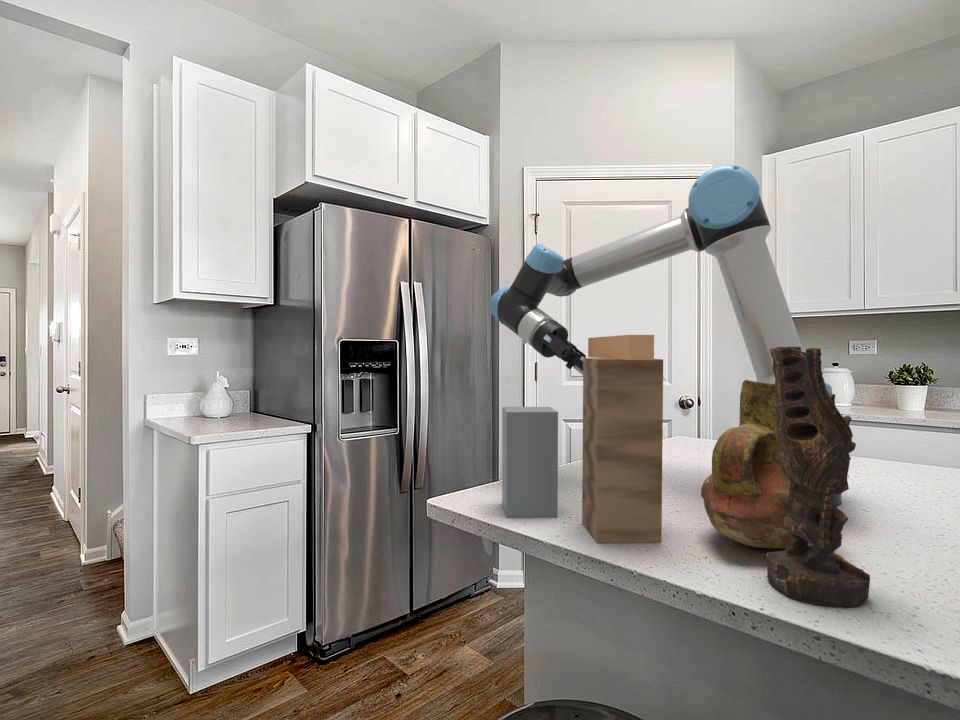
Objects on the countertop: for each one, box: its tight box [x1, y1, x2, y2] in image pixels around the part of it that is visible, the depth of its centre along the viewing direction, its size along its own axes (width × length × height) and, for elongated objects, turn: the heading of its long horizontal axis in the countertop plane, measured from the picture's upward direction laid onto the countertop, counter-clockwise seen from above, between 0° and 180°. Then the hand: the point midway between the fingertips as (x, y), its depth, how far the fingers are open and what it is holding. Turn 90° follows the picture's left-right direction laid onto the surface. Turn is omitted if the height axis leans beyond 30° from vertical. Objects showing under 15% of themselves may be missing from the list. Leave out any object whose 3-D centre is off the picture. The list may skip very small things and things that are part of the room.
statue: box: [765, 347, 871, 608], centre depth 70 cm, size 10×10×30 cm
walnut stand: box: [581, 357, 664, 544], centre depth 91 cm, size 10×10×28 cm
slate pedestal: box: [501, 406, 559, 519], centre depth 104 cm, size 9×9×18 cm
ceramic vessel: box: [700, 379, 830, 550], centre depth 87 cm, size 17×26×25 cm, turn 131°
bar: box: [587, 334, 655, 360], centre depth 94 cm, size 25×4×4 cm, turn 3°
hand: (617, 390), depth 109 cm, fingers open, 13 cm apart
